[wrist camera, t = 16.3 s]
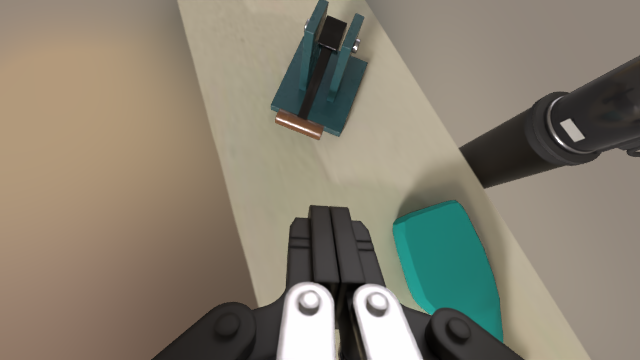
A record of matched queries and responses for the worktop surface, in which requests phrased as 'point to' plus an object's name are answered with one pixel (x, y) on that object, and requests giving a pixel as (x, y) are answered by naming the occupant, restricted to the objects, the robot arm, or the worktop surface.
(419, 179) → the worktop surface
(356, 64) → the teal lever stand
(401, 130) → the worktop surface
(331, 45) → the lever handle
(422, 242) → the spray bottle
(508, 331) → the worktop surface
